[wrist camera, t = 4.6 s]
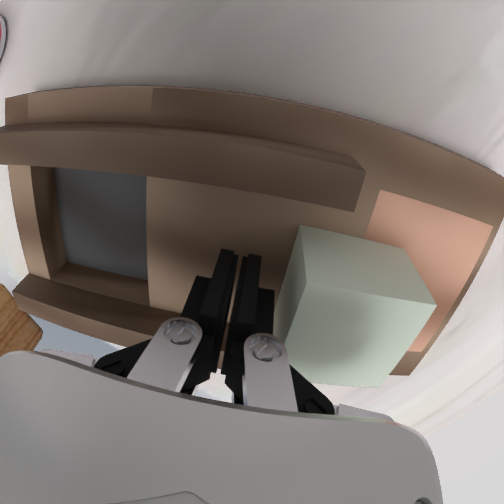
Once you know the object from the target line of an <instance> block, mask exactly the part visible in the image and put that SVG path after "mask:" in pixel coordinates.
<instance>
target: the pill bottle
mask: <svg viewBox="0 0 504 504" xmlns="http://www.w3.org/2000/svg"><path fill="white" fill-rule="evenodd" d="M5 39H6V26H5V22H4V19H3V18H2V17H1V16H0V58H1V56H2V53H3V49H4V45H5Z"/></svg>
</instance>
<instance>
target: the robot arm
mask: <svg viewBox="0 0 504 504" xmlns="http://www.w3.org/2000/svg"><path fill="white" fill-rule="evenodd" d="M238 257H239V255H235V254H234V251H233V250H228V249H223V248H221V250H220V253H219V256H218V259H217V263H216V266H215V269H214V272H213V275H212V278H208V277H203V276H198V275H197V276H196V278H195V280H194V282H193V285H192V288H191V290H190V293H189V295H188V298H187V300H186V303H185V306H184V308H183V311H182V313H181V316H180V317H174V318H170V319H168V320H166V321H165V322H164V323H163V324H162V325H161V326H160V328H159V329H158V331H157V332H156V334H155V335H154V337H153V338H151V339H149V340H146V341H143V342H141V343H138V344H135V345H133V346H130V347H127V348H124V349H122V350H119V351H116V352H113V353H110V354H108V355H105V356H103V357H102V358H100V359H95V358H94V356H93V355H85V354H78V353H71V352H64V351H57V350H51V349H46V350H42V351H40V352H38V351H24V350H21V351H13V352H9V353H6V354H4V355H3V356H1V357H0V504H443V500H442V492H441V486H440V481H439V476H438V471H437V467H436V463H435V459H434V456H433V454H432V451H431V448H430V446H429V444H428V442H427V440H426V439H425V438H424V437H423V436H422V435H421V434H420V433H419V432H417V431H416V430H414V429H412V428H410V427H408V426H405V425H402V424H400V423H397V422H394V420H393V419H392V418H390V417H389V416H387V415H384V414H380V413H376V412H371V411H367V410H363V409H359V408H355V407H351V406H347V405H343V404H339V405H338V406H336V405H333V404H332V403H331V401H330V400H329V399H328V398H327V397H326V396H325V395H323V394H322V393H321V392H320V391H319V390H318V389H317V388H316V387H314V386H313V385H312V384H311V383H310V382H309V381H308V380H307V379H306V378H304V377H303V376H302V375H301V374H300V373H299V372H298V371H297V370H296V369H295V368H293V367H292V366H291V365H290V364H289V360H288V354H287V349H286V347H285V344H284V343H283V342H282V341H281V340H280V339H279V338H278V337H276V336H274V335H273V325H274V300H275V291H274V290H271V289H265V288H260V287H258V286H259V277H260V268H261V258H262V256H259V255H254V254H248V257H246V256H243V258H242V263H241V268H240V273H239V278H238V283H237V287H236V292H235V297H234V302H233V307H232V312H231V317H230V323H229V328H228V334H227V340H226V345H225V351H224V357H223V363H222V368H221V374H223V375H226V378H225V384H226V385H227V386H228V387H229V388H230V389H231V391H232V403H228V402H223V401H217V400H212V399H207V398H202V397H197V396H195V393H196V391H197V388H198V384H200V383H202V382H204V381H206V380H209V378H210V373H211V372H213V373H216V371H217V366H218V362H219V357H220V352H221V347H222V342H223V337H224V333H225V328H226V323H227V318H228V314H229V309H230V303H231V297H232V292H233V286H234V280H235V274H236V269H237V263H238Z"/></svg>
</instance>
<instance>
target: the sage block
mask: <svg viewBox="0 0 504 504" xmlns="http://www.w3.org/2000/svg"><path fill="white" fill-rule="evenodd" d="M436 306H437V304H436V302H435V301H434V299H433V297H432V295H431V293H430V292H429V290H428V288H427V286H426V285H425V283H424V281H423V279H422V278H421V276H420V274H419V273H418V271H417V269H416V268H415V266H414V264H413V263H412V261H411V260H410V258H409V256H408V255H407V253H406V252H405V250H404V248H400V247H395V246H391V245H387V244H383V243H379V242H375V241H371V240H366V239H362V238H358V237H354V236H349V235H345V234H340V233H336V232H332V231H327V230H323V229H318V228H313V227H309V226H304V225H300V226H299V229H298V233H297V236H296V240H295V243H294V247H293V250H292V254H291V257H290V261H289V264H288V267H287V271H286V274H285V278H284V281H283V284H282V288H281V291H280V294H279V297H278V301H277V304H276V307H275V310H274V325H273V335H274V336H276V337H278V338H279V339H280V340H281V341H282V342H283V343H284V344H285V347H286V349H287V354H288V360H289V364H290V365H291V366H292V367H293V368H295V369H296V370H297V371H298V372H299V373H300V374H301V375H302V376H303V377H304V378H306V379H307V380H308V381H309V382H310V383H319V384H329V385H341V386H356V387H375V388H379V386H380V385H381V384H382V383H383V381H384V380H385V379H386V378H387V376H388V375H389V374H390V373H391V371H392V370H393V369H394V367H395V366H396V365H397V363H398V362H399V361H400V359H401V358H402V357H403V355H404V354H405V353H406V351H407V350H408V349H409V347H410V346H411V344H412V343H413V341H414V340H415V339H416V337H417V336H418V334H419V333H420V331H421V330H422V328H423V327H424V325H425V324H426V322H427V321H428V319H429V318H430V316H431V314H432V313H433V311H434V310H435V308H436Z"/></svg>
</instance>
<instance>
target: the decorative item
mask: <svg viewBox="0 0 504 504" xmlns="http://www.w3.org/2000/svg"><path fill="white" fill-rule="evenodd" d="M42 334H43V331H42V329H41V328H40V327H39V325H38V324H37V323H36V322H35V321H34V320H33V319H32V318H31V317H30V316H29V315H28V313H26V312H24V311H21V310H19V308H18V306H17V303H16V301H15V298H14V297H13V296H12V295H11V294H10V292H9V291H8V290H7V289H6V287H5V286H4V285H2V284H0V357H1V356H3V355H4V354H6V353H9V352H13V351H21V350H24V351H33V350H34V348H35V347H36V345H37V344H38V342H39V341H40V339H41V338H42Z"/></svg>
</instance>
